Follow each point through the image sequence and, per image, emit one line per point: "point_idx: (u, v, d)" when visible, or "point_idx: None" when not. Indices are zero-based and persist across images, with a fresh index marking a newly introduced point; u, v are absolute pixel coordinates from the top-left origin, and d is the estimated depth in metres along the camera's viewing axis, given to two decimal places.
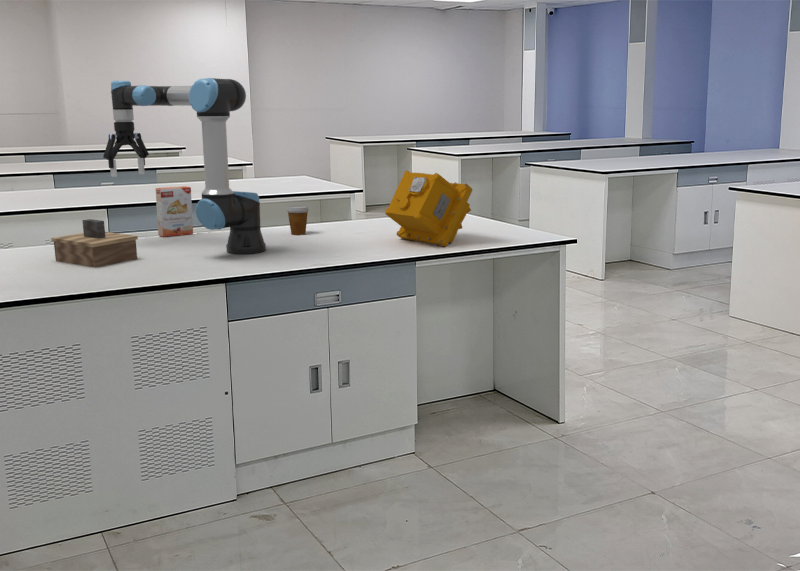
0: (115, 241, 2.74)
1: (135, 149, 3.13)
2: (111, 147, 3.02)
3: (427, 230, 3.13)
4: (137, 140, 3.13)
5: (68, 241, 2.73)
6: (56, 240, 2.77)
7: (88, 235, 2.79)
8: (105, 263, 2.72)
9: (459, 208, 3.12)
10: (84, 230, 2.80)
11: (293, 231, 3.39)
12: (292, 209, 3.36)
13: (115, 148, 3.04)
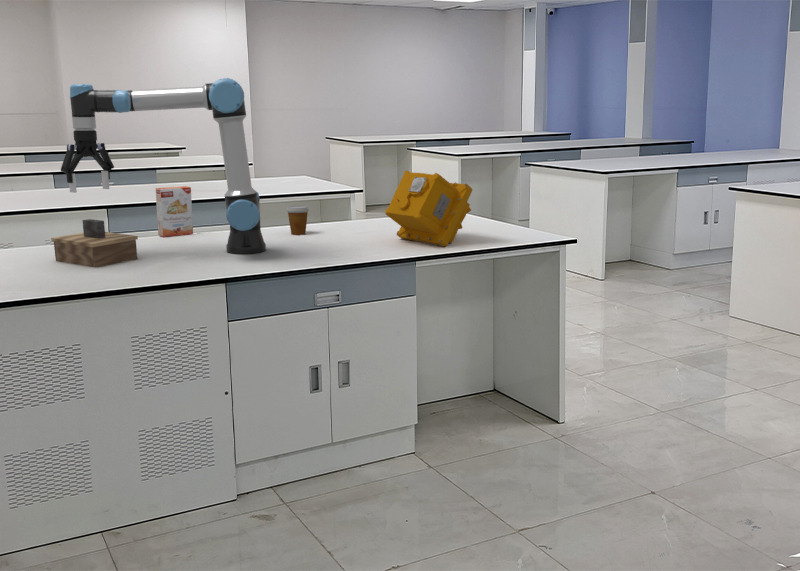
0: (115, 241, 2.74)
1: (98, 161, 2.78)
2: (69, 159, 2.67)
3: (427, 230, 3.13)
4: (101, 151, 2.78)
5: (68, 241, 2.73)
6: (56, 240, 2.77)
7: (88, 235, 2.79)
8: (105, 263, 2.72)
9: (459, 208, 3.12)
10: (84, 230, 2.80)
11: (293, 231, 3.39)
12: (292, 209, 3.36)
13: (74, 160, 2.69)
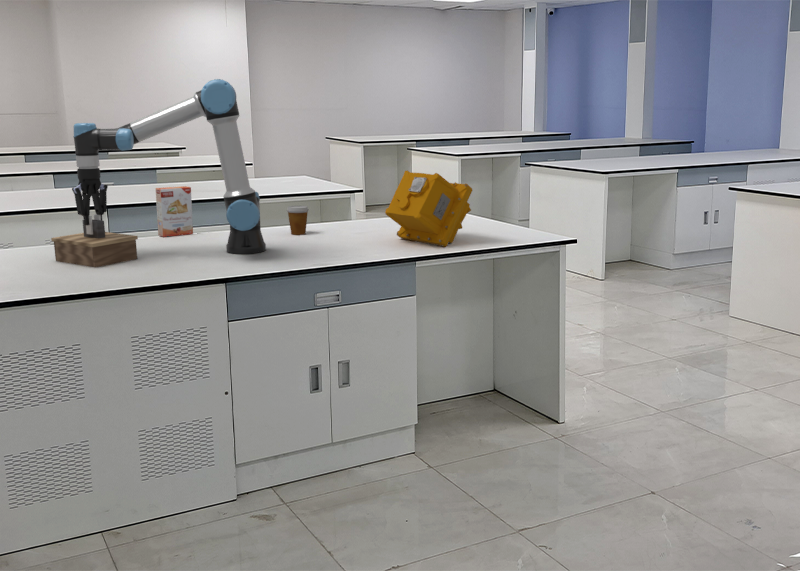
0: (115, 241, 2.74)
1: (95, 201, 2.79)
2: (81, 202, 2.72)
3: (427, 230, 3.13)
4: (101, 191, 2.80)
5: (68, 241, 2.73)
6: (56, 240, 2.77)
7: (88, 235, 2.79)
8: (105, 263, 2.72)
9: (459, 208, 3.12)
10: (84, 230, 2.80)
11: (293, 231, 3.39)
12: (292, 209, 3.36)
13: (85, 202, 2.75)
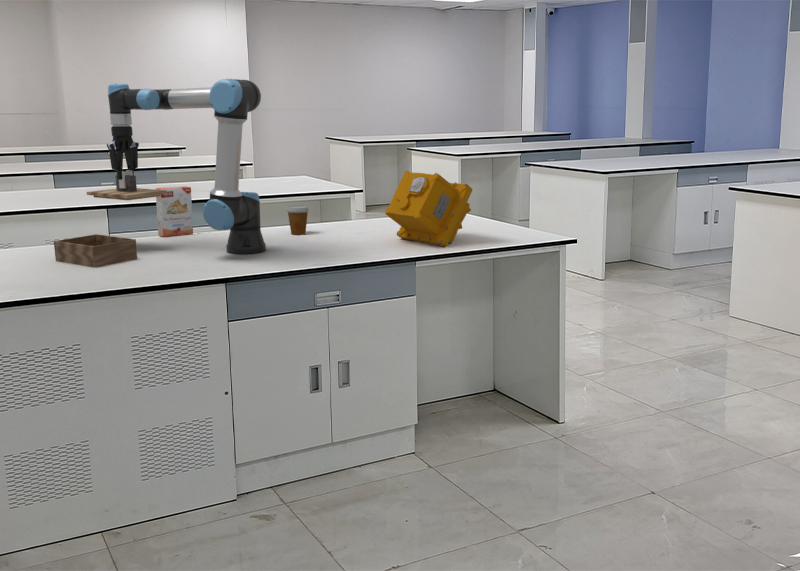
0: (146, 194, 2.95)
1: (127, 158, 2.99)
2: (115, 157, 2.93)
3: (427, 230, 3.13)
4: (132, 149, 3.01)
5: (103, 194, 2.94)
6: (91, 193, 2.97)
7: (121, 189, 3.00)
8: (105, 263, 2.72)
9: (459, 208, 3.12)
10: (117, 185, 3.01)
11: (293, 231, 3.39)
12: (292, 209, 3.36)
13: (119, 157, 2.95)
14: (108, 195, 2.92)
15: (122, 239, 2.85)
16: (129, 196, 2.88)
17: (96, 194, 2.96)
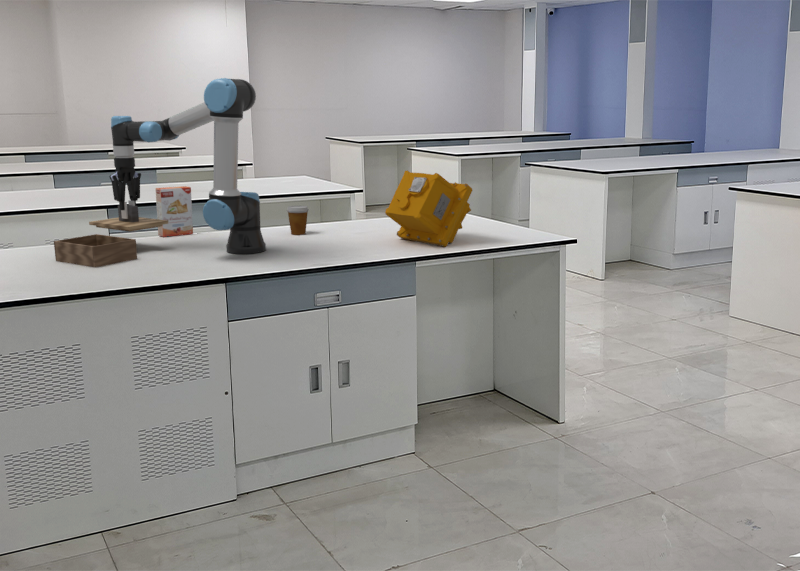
0: (148, 225, 2.97)
1: (129, 188, 3.02)
2: (117, 189, 2.96)
3: (427, 230, 3.13)
4: (135, 179, 3.04)
5: (105, 224, 2.97)
6: (94, 224, 3.00)
7: (123, 219, 3.03)
8: (105, 263, 2.72)
9: (459, 208, 3.12)
10: (119, 215, 3.03)
11: (293, 231, 3.39)
12: (292, 209, 3.36)
13: (121, 188, 2.98)
14: (110, 226, 2.95)
15: (122, 239, 2.85)
16: (131, 227, 2.91)
17: (98, 224, 2.99)
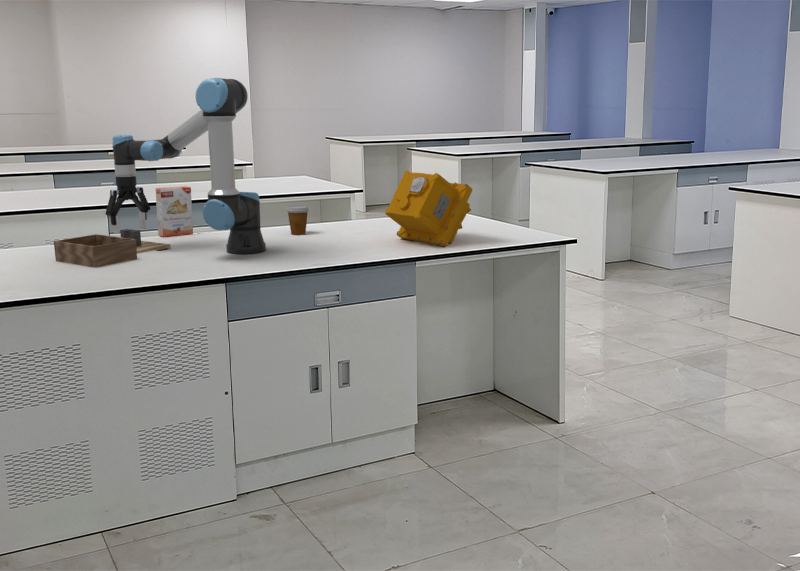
0: (151, 249, 3.00)
1: (137, 204, 3.05)
2: (113, 204, 2.95)
3: (427, 230, 3.13)
4: (139, 194, 3.06)
5: None
6: None
7: None
8: (105, 263, 2.72)
9: (459, 208, 3.12)
10: None
11: (293, 231, 3.39)
12: (292, 209, 3.36)
13: (117, 204, 2.97)
14: None
15: (122, 239, 2.85)
16: None
17: None
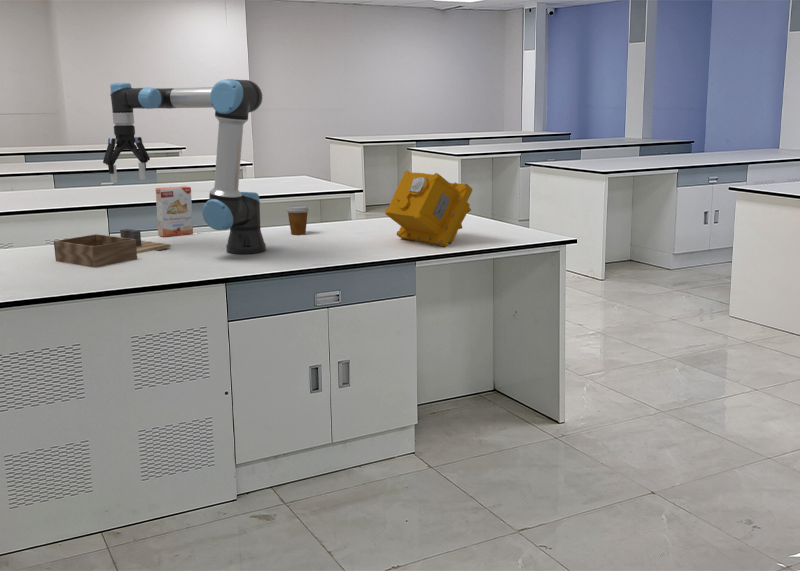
0: (151, 249, 3.00)
1: (136, 154, 3.02)
2: (111, 152, 2.90)
3: (427, 230, 3.13)
4: (138, 144, 3.02)
5: None
6: None
7: None
8: (105, 263, 2.72)
9: (459, 208, 3.12)
10: None
11: (293, 231, 3.39)
12: (292, 209, 3.36)
13: (115, 153, 2.93)
14: None
15: (122, 239, 2.85)
16: None
17: None
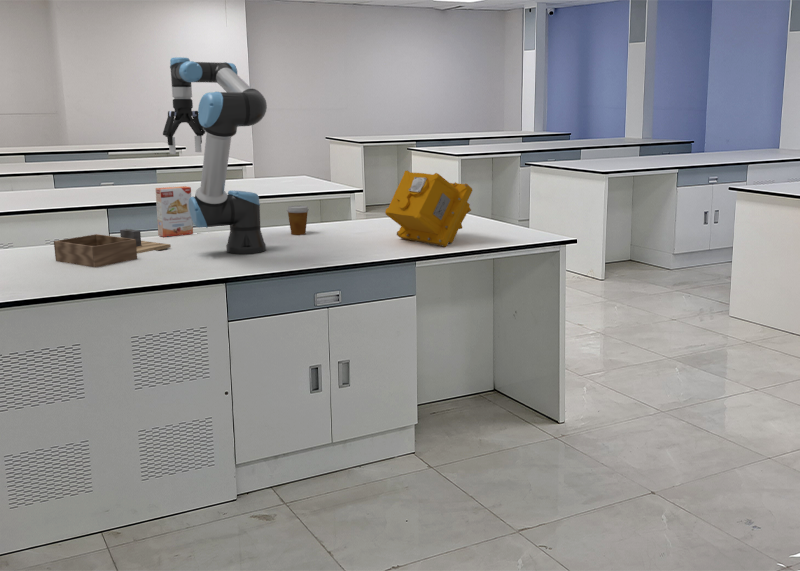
0: (151, 249, 3.00)
1: (192, 127, 3.12)
2: (171, 124, 3.01)
3: (427, 230, 3.13)
4: (194, 118, 3.13)
5: None
6: None
7: None
8: (105, 263, 2.72)
9: (459, 208, 3.12)
10: None
11: (293, 231, 3.39)
12: (292, 209, 3.36)
13: (174, 125, 3.03)
14: None
15: (122, 239, 2.85)
16: None
17: None
